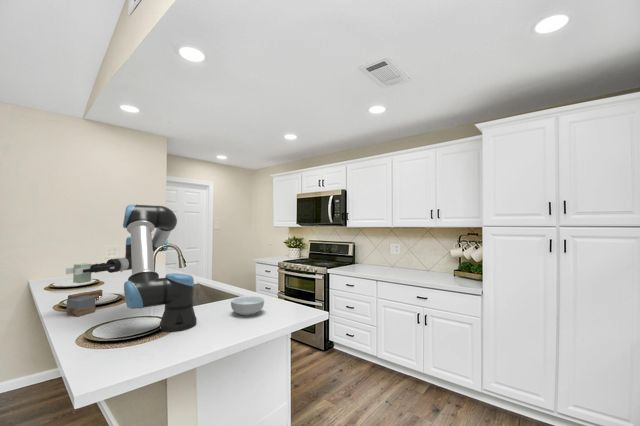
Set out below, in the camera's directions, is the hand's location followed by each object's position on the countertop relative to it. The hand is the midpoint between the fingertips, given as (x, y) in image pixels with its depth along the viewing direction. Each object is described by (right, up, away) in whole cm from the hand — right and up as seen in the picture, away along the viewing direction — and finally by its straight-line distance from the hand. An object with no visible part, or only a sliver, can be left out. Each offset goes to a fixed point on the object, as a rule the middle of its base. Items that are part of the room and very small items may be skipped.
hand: (70, 271), depth 140 cm
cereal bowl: (+84, -24, +10) cm, 88 cm away
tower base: (+1, -22, +5) cm, 23 cm away
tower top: (+1, -18, +5) cm, 19 cm away
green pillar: (+1, -6, +5) cm, 8 cm away
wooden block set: (-11, -23, +27) cm, 38 cm away
